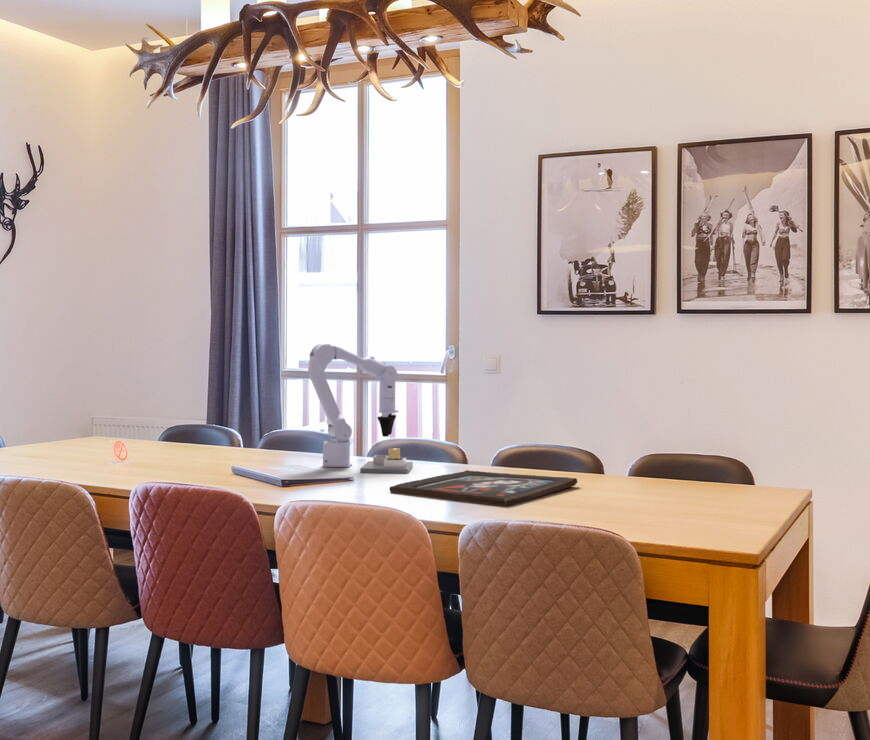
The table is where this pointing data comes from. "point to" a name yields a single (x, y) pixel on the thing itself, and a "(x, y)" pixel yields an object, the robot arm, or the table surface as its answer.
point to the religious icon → (485, 487)
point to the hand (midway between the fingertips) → (386, 435)
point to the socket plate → (386, 465)
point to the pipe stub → (394, 453)
